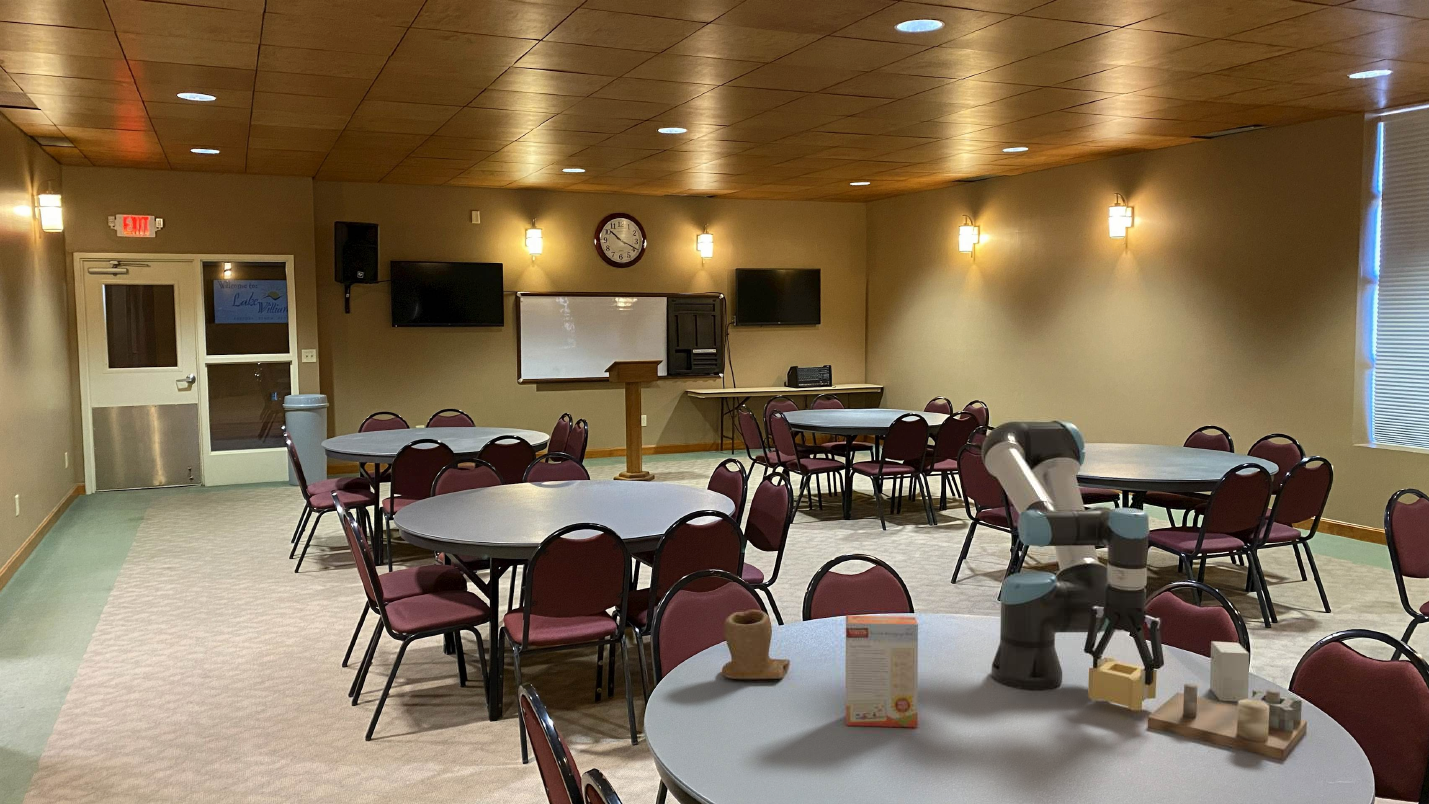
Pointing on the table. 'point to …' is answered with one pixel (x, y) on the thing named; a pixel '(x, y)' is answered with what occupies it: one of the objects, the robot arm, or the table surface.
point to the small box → (1229, 671)
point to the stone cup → (751, 647)
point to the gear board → (1235, 721)
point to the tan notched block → (1119, 684)
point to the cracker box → (881, 671)
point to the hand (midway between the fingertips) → (1121, 693)
